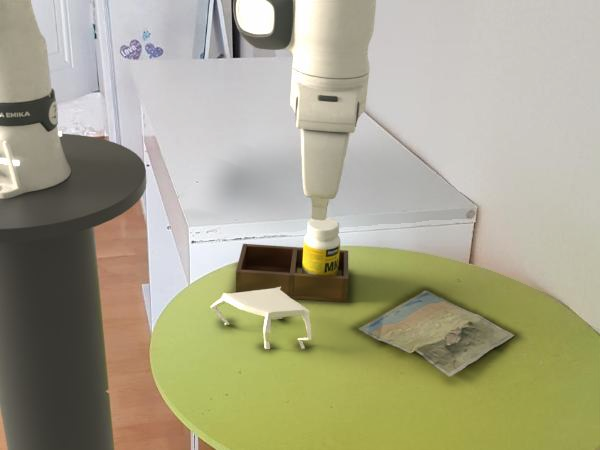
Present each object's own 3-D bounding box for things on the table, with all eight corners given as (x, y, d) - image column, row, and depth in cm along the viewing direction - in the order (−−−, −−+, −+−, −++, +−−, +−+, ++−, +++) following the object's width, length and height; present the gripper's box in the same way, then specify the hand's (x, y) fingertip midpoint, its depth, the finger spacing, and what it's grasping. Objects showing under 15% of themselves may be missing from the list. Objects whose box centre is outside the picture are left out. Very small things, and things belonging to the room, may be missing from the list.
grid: (235, 294, 96) (235, 271, 95) (242, 265, 103) (243, 243, 101) (346, 302, 96) (348, 279, 94) (346, 272, 102) (348, 250, 101)
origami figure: (310, 314, 93) (312, 280, 91) (311, 355, 86) (313, 319, 83) (213, 310, 93) (212, 276, 91) (205, 351, 85) (205, 315, 83)
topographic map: (515, 336, 91) (517, 324, 90) (449, 380, 82) (451, 368, 81) (425, 293, 99) (427, 282, 99) (357, 329, 91) (358, 318, 90)
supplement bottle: (326, 293, 96) (330, 235, 92) (294, 282, 98) (297, 225, 94) (343, 277, 100) (348, 221, 96) (312, 267, 102) (316, 211, 98)
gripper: (306, 66, 96) (300, 166, 102) (295, 119, 78) (288, 236, 84) (355, 70, 96) (346, 170, 102) (356, 123, 78) (344, 241, 84)
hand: (320, 200), depth 93 cm, fingers open, 8 cm apart
